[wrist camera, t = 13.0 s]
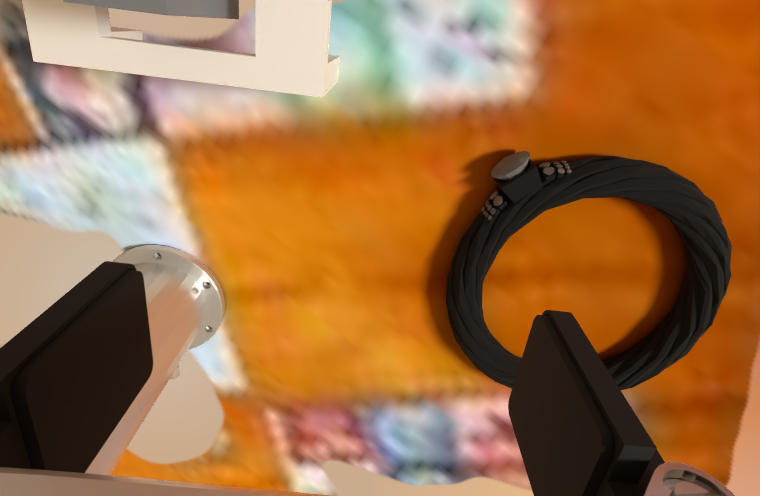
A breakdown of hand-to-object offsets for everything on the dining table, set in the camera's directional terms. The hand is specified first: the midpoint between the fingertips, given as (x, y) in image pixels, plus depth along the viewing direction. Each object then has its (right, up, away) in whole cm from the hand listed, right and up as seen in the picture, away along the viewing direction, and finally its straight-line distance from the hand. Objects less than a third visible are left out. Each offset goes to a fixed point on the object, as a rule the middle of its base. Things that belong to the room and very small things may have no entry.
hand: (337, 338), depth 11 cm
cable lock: (+21, 0, +37) cm, 43 cm away
